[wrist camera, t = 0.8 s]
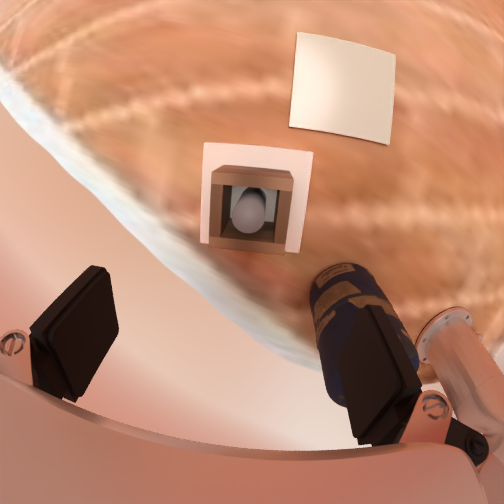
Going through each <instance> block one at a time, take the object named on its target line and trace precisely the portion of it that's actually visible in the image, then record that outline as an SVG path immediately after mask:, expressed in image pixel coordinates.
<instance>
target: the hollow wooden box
mask: <svg viewBox="0 0 504 504" xmlns="http://www.w3.org/2000/svg"><path fill="white" fill-rule="evenodd" d="M293 183H294V179H293V177H292V175H291V173H290V171H287V170H279V169H269V168H259V167H249V166H237V165H222V166H221V167H219V168H217V169H216V170H214V171H212V174H211V193H210V216H209V247H211V248H221V249H230V250H240V251H249V252H259V253H268V254H278V255H284V251H285V244H286V237H287V230H288V222H289V215H290V207H291V199H292V191H293ZM232 185H233V186H244V187H255V188H265V189H274V190H277V196H276V205H275V213H274V222H267V221H264V224H263V226H262V227H261V228H260V229H259V230H258V231H256V232H254V233H243V232H241V231H239V230H238V229H237V228H236V227H235V226H234V224H233V222H232V218H230V211H231V196H232Z"/></svg>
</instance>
